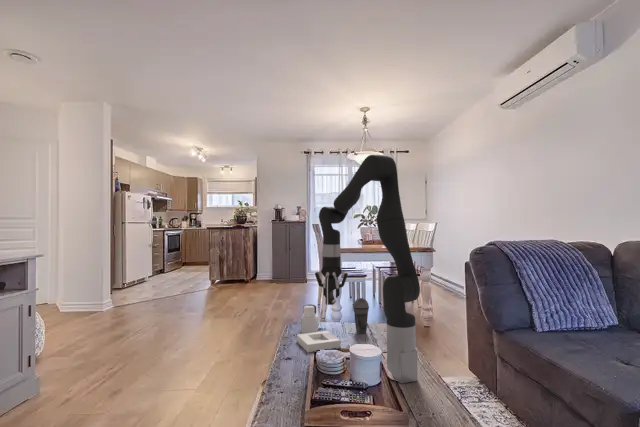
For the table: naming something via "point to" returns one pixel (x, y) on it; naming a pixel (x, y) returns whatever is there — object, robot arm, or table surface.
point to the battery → (330, 290)
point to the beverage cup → (361, 315)
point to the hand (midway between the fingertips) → (331, 296)
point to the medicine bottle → (309, 319)
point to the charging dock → (318, 341)
